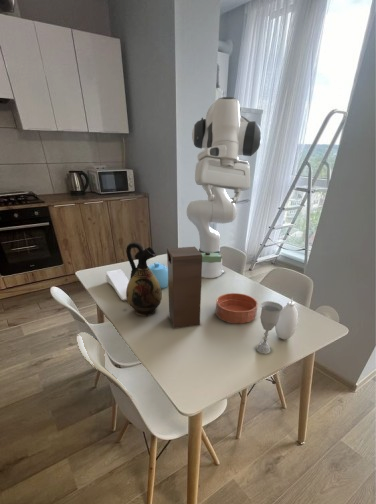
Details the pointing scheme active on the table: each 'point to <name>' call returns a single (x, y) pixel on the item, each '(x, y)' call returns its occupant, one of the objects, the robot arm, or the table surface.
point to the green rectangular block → (211, 257)
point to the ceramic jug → (142, 282)
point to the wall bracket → (118, 282)
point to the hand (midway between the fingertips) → (222, 202)
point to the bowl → (236, 308)
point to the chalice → (268, 322)
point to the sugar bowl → (160, 274)
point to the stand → (184, 286)
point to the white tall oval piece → (287, 321)
